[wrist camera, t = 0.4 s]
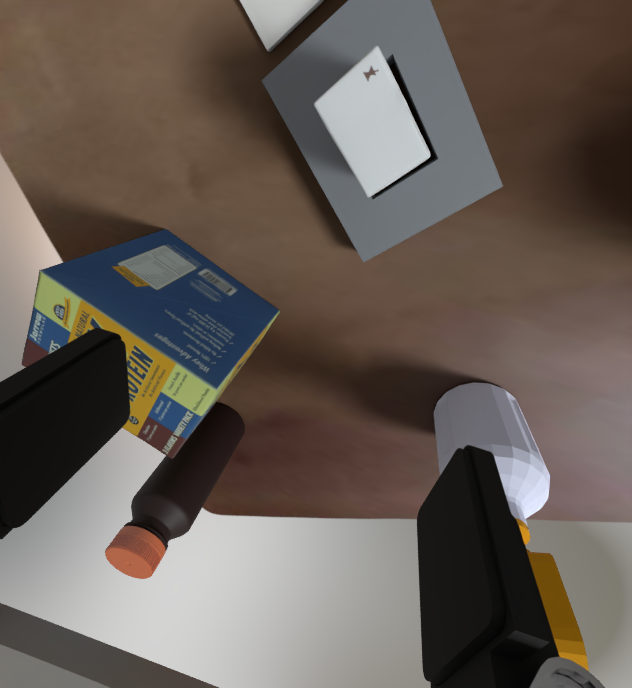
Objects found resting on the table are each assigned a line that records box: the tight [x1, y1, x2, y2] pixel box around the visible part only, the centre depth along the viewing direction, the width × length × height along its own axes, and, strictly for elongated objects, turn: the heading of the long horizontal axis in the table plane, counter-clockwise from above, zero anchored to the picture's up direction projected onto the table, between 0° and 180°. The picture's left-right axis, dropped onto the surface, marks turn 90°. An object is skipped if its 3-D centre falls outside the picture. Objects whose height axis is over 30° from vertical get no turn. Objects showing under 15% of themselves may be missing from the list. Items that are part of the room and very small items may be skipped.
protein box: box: [22, 229, 280, 459], centre depth 35 cm, size 10×15×16 cm
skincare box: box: [314, 46, 430, 198], centre depth 24 cm, size 6×4×12 cm
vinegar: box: [105, 404, 245, 579], centre depth 41 cm, size 7×7×20 cm
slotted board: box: [261, 0, 503, 262], centre depth 28 cm, size 12×16×3 cm
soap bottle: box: [434, 382, 589, 671], centre depth 30 cm, size 9×9×25 cm
